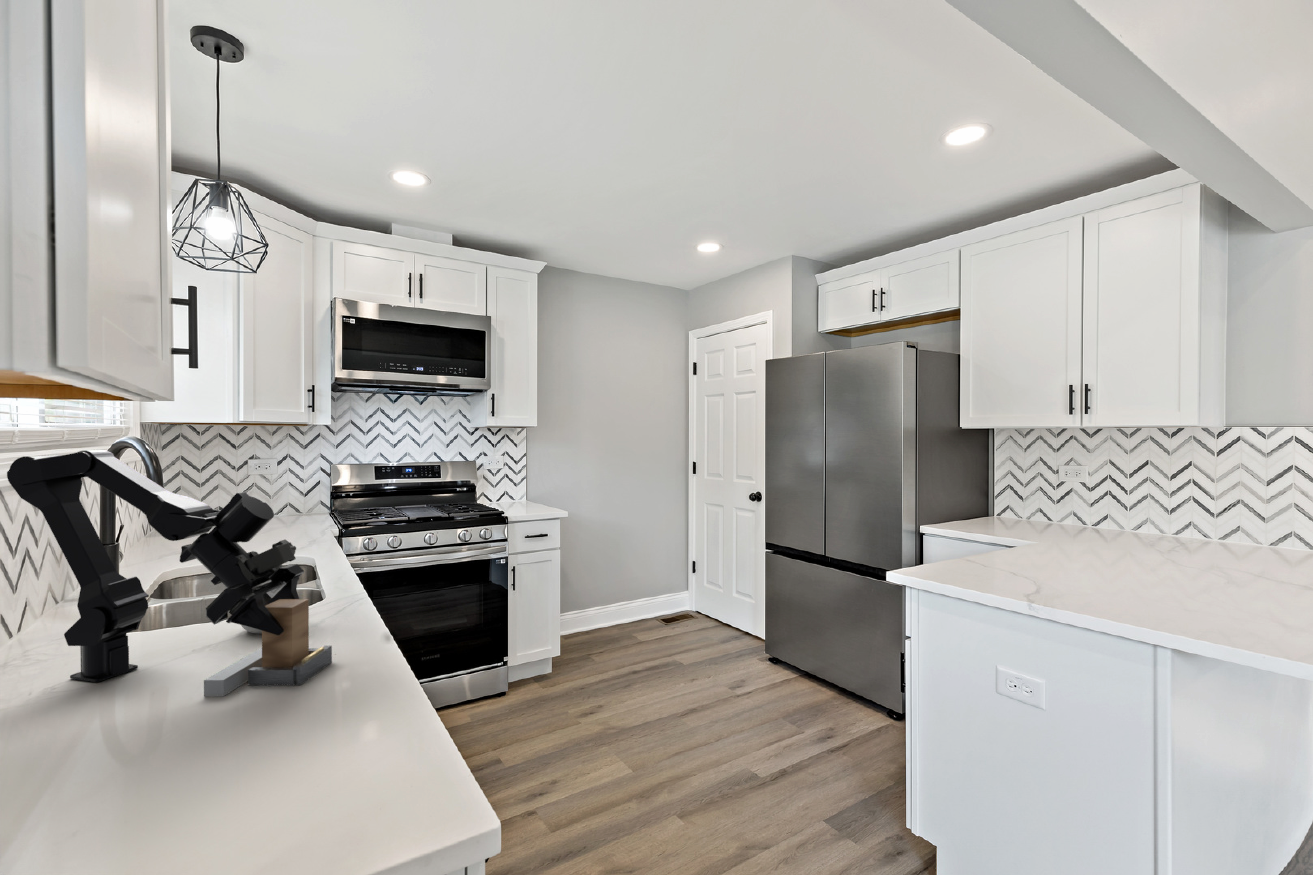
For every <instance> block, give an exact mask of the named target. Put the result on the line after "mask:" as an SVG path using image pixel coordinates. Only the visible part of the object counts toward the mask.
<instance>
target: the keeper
mask: <svg viewBox="0 0 1313 875" xmlns="http://www.w3.org/2000/svg"><path fill="white" fill-rule="evenodd" d="M332 648H333V646H332V645H324V646H321V647H318V648H317V647H316V648H310V647H309V655H308V656H307V657H305V658H304V659H302V661H301V662H300V663H298V664H297V665H295V666H294V667H253V668H251V669H249V670H248V681H247V682H248V685H247V686H302V685H304V683H306V682H307V681H309V680H310V679H311V678H312V677H314V676H315V675H317V674H318V673H319V672H321V671H322V670H324V669H325V668H326V667H327V666H329V665H330V664H332V662H333V649H332Z"/></svg>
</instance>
